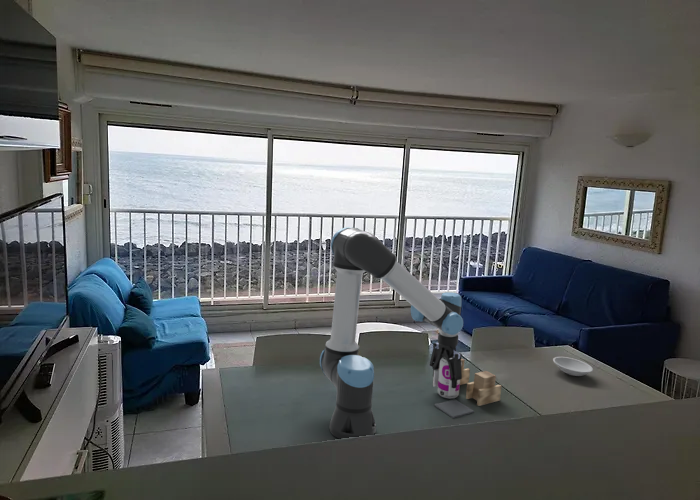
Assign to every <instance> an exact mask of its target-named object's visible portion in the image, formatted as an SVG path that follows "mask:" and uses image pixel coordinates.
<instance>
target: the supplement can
mask: <svg viewBox="0 0 700 500" xmlns="http://www.w3.org/2000/svg"><path fill="white" fill-rule="evenodd" d="M450 359H452V358H450ZM461 366H462V362H461ZM449 379H451V375H450V370H449V365H448V362H447V360H446V358H445V357H442V358H441V360H440V366H439V378H438V386H437V394H438V395H439V396H440V397H442V398H444V399H450V400H454V399H455V398H457V397H458V396H459V395H460V386H461V385H460V380H457V387H456V388H455V395H453V396H448V390H449Z"/></svg>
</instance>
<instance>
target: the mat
mask: <svg viewBox="0 0 700 500" xmlns="http://www.w3.org/2000/svg"><path fill="white" fill-rule="evenodd" d="M433 406H434V407H435V408H437V409H439V410H440V411H441V412H442V413H444V414H446V416H449V417H451V419H454V418H460V417H463V416H466V415H469V414H474V413H475V411H474V410H473V409H471V408H470V407H468V406H467V405H465V404H463V402H460V401H459V400H457V399H455V398H453V399H450V400H446V401H443V402H440V403H439V402H438V403H434V404H433Z"/></svg>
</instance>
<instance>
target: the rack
mask: <svg viewBox="0 0 700 500" xmlns="http://www.w3.org/2000/svg"><path fill="white" fill-rule="evenodd" d="M461 362H462V366H461V370H462V379H461V380H460V386H462V385H465V384H466V393H465V399H466V400H469V399H473V400H475V401H476V402H477V403H476V406H477V407H478V406H481V407H482V406H484V405H488V404H491V403H494V402H495V403H496V402H498V401H501V396H502V395H501V392H502V385H501V384H496V380H497V379H496V378H497V376H496V375H495V374H494V373H491V372H490V371H487V370H482V371H479V372H474V377H473V378H474V379H473V381H471V382H470V373H471V369H470V368H469V367H468V368H465V359H463V358H462V357H461Z"/></svg>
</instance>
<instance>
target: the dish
mask: <svg viewBox="0 0 700 500" xmlns="http://www.w3.org/2000/svg"><path fill="white" fill-rule="evenodd" d="M552 361H553V363H554V364H555V366H557V368H558V369H559V370H560V371H561V372H563V373H566V374H567V375H569V376H574V377H575V376H576V377H581V376H585V375H588V374H589V373H592V372H594V371H593V370H594V369H593V367H592V366H591V365H590V364H588V363H587V362H585V361H582V360H579V359H576V358H572V357H567V356H555V357H553V358H552Z"/></svg>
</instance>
